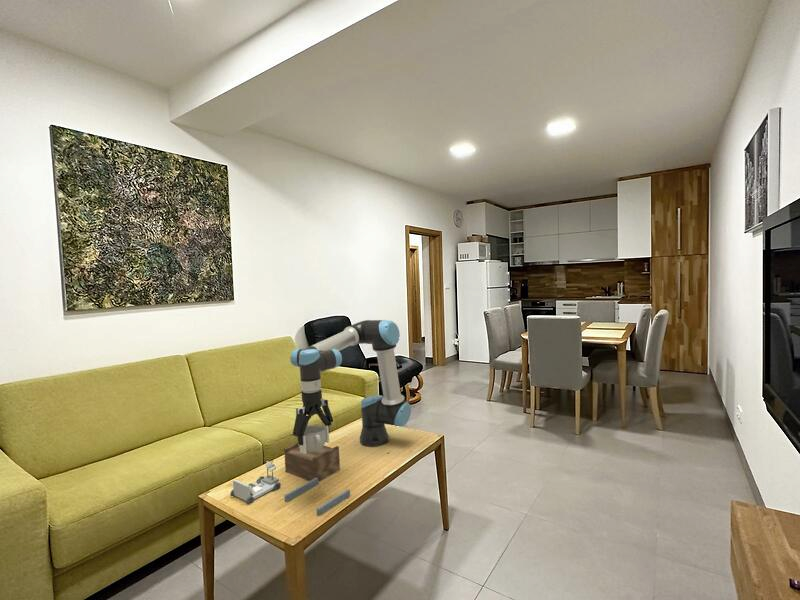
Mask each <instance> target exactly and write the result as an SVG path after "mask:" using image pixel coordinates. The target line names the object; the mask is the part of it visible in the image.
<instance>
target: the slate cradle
mask: <svg viewBox="0 0 800 600" xmlns="http://www.w3.org/2000/svg"><path fill="white" fill-rule="evenodd" d="M319 482H320V481H319ZM319 482H318V478H315V479H313V480H311V481H309V480H308V481H307V482H306V483H304V484H302V485H300V486H298V487H297V488H294V489H293V490H291V491H289V492H287V493H285V494H284V502H285V503H288V502H290V501H291V500H293V499H295V498H297V497H298V496H300V495H302V494H304V493H306V492H307V491H309V490H311V489H313V488H315V487H316V486H318V485H319ZM349 496H350V497H351V489H349V488H347V489H346V490H344V491H342V492H341V493H339V494H337V495H335V496H334V497H332V498H331V499H329V500H328V501H326V502H324V503H323V504H321V505H320V506H318V507H317V508H316V509H315V510H316V517H321V516H323V513H324V514H326V513H327V512H329V511H330V510H332V509H333V508H335V507H336V506H337V505H339V504H340V502H341V503H342V502H343V500H344V501H345V500H347V499H348V498H350V497H349ZM346 498H347V499H346ZM320 515H321V516H320Z"/></svg>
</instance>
